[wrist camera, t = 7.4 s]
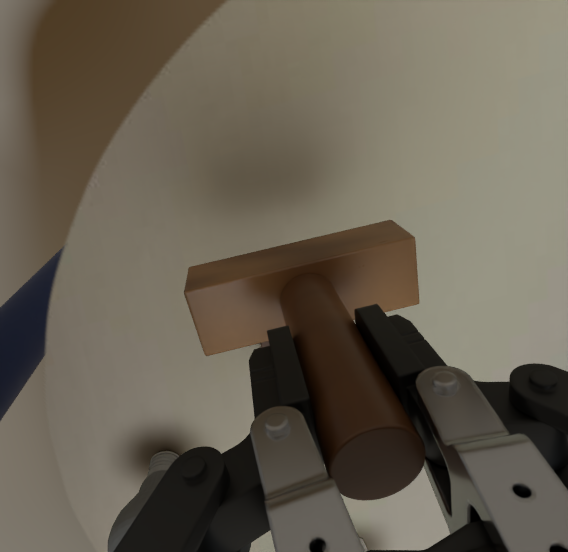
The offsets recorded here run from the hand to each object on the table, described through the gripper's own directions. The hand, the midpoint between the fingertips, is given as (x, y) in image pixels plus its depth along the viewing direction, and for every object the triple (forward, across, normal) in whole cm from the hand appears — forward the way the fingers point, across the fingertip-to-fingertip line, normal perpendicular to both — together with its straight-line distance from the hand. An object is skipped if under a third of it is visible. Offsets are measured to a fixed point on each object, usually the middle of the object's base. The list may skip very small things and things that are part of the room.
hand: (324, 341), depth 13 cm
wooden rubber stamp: (+6, 0, 0) cm, 6 cm away
